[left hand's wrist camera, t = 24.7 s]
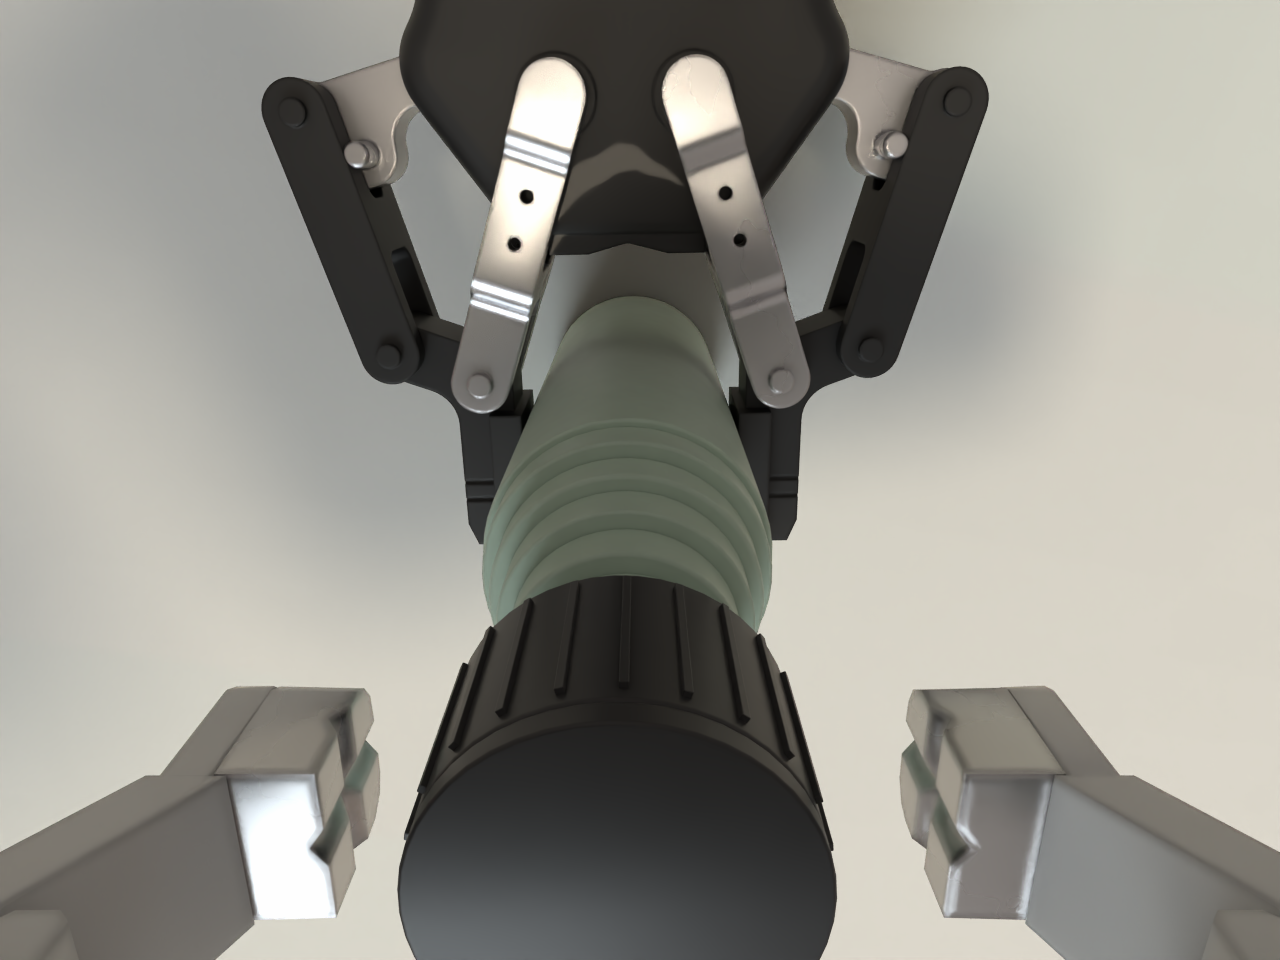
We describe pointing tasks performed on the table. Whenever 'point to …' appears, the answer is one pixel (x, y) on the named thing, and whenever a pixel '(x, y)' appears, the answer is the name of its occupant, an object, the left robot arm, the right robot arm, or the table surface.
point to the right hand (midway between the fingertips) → (634, 549)
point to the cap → (619, 791)
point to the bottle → (630, 470)
